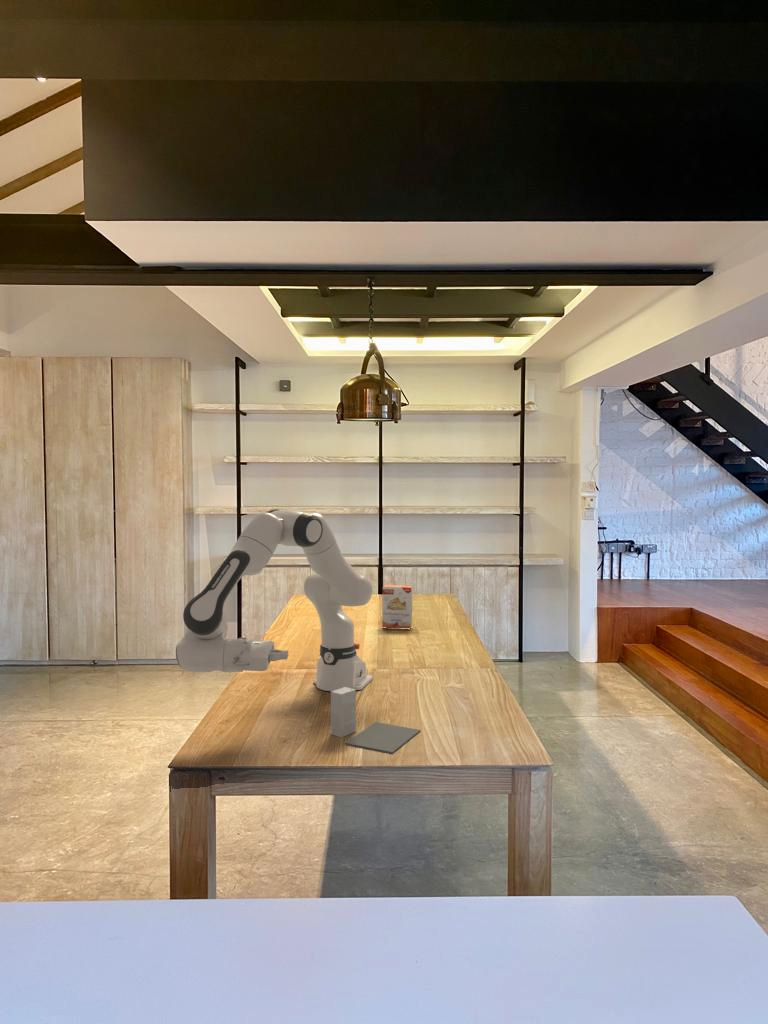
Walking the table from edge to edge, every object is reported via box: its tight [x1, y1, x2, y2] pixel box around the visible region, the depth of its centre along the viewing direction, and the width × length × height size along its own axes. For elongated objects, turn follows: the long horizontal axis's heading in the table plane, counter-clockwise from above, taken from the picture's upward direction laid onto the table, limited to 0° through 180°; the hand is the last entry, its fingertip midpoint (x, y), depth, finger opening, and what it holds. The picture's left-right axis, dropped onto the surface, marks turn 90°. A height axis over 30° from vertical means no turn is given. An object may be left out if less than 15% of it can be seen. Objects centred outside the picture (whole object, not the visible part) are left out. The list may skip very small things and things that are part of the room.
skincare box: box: [330, 687, 357, 738], centre depth 187 cm, size 6×4×12 cm
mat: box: [344, 721, 421, 754], centre depth 184 cm, size 18×14×1 cm
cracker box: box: [381, 584, 413, 629], centre depth 329 cm, size 14×6×21 cm, turn 81°
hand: (287, 654), depth 186 cm, fingers closed
